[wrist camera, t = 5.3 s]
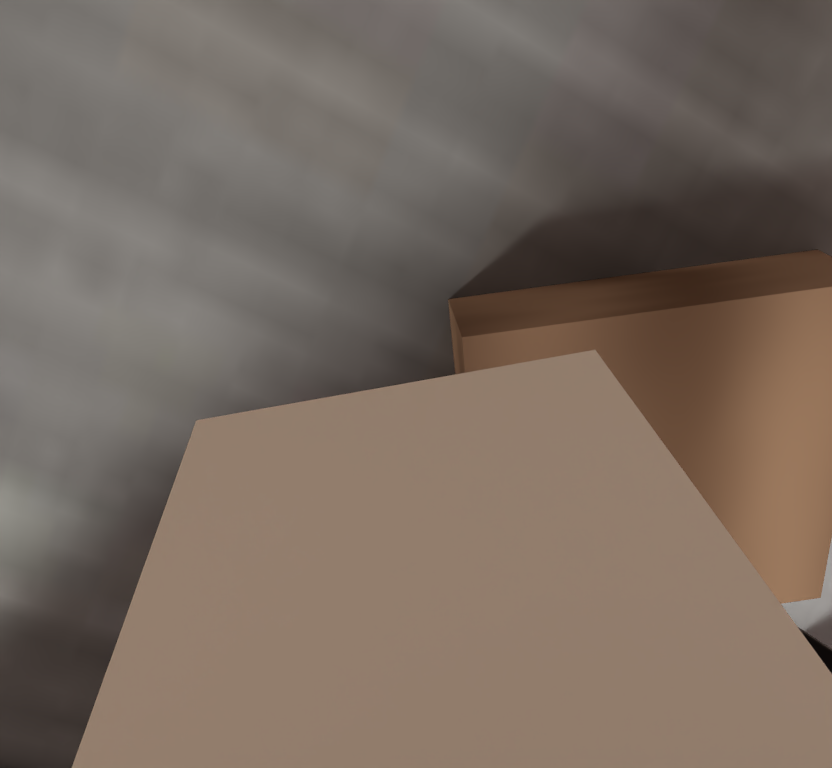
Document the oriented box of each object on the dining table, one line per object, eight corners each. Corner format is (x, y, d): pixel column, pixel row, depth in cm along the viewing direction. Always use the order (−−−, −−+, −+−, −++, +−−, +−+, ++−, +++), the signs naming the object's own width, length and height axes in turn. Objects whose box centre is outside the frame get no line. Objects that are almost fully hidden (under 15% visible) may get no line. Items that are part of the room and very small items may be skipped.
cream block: (289, 698, 11) (241, 1296, 6) (196, 419, 9) (-10, 991, 4) (609, 640, 12) (836, 1187, 6) (595, 350, 9) (938, 818, 4)
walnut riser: (473, 577, 25) (489, 646, 22) (446, 293, 20) (461, 337, 17) (769, 534, 25) (820, 597, 22) (807, 244, 20) (877, 280, 18)
